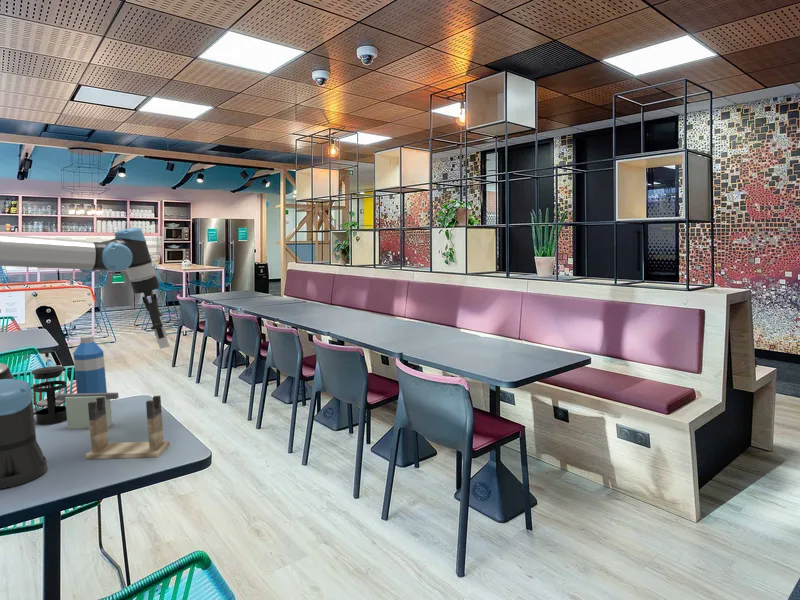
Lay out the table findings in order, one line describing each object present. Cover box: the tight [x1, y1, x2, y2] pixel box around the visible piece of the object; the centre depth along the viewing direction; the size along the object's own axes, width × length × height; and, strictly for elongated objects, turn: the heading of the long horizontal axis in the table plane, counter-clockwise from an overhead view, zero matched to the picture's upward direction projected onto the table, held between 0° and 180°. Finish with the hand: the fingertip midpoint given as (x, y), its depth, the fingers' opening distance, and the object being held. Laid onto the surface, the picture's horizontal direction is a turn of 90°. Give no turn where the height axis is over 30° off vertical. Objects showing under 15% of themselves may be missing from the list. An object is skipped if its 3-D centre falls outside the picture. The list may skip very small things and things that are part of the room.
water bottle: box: [72, 335, 108, 394], centre depth 183 cm, size 9×9×25 cm
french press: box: [30, 349, 68, 426], centre depth 170 cm, size 12×9×23 cm
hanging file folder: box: [55, 392, 119, 430], centre depth 164 cm, size 18×4×11 cm, turn 92°
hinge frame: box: [84, 395, 171, 460], centre depth 144 cm, size 19×8×15 cm, turn 92°
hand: (163, 341), depth 169 cm, fingers open, 13 cm apart
